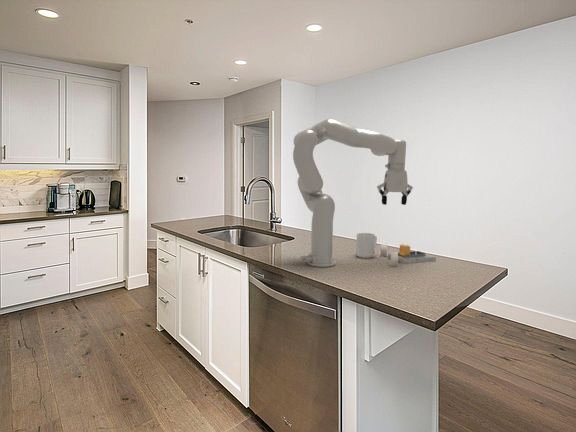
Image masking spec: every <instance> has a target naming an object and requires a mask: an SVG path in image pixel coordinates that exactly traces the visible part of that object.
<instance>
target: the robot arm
mask: <svg viewBox="0 0 576 432" xmlns="http://www.w3.org/2000/svg"><path fill="white" fill-rule="evenodd" d="M327 140H331V141H334V142H335V143H336V142H337V143H340V144H343V145H345V146H349V147H350V148H351V147H352V148H362V149H369V150H370V151H371V154H373V155H375V156H378V157H382V156H388V158H387V164H385V165H384V167H385V168H386V169H387V170H386V171H385V174H384V179H383V183H380V184H378V185H377V186H376V188H377V190H378V193H379V194H380V196H381V204H382V205H385V206H386V205H387V203H388V196H387V194H388V193H401V195H402V196H401V199H400V200H401V201H400V204H401V205H402V206H403V205H404V206H406V205H407V203H408V202H407V201H408V196H409V195H410V194H411V192H412V190H413V188H414V187H413V186H412V185H410V184H409V183H408V172H407V170H406V169H405V168H406V167H405V166H406V155H407V154H406V153H407V141H406V140H404V139H394V138H392V137H391V136H388V135H385V134H382V133H379V132H376V131H373V130H367V129H364V128H359V127H356V126H353V125H350V124H347V123H344V122H342V121H339V120H338V119H337V120H336V119H335V118H334V119H333V118H327V119H325V120H322V121H320V122H318V123H316V124H315V125H313V126H311V127H309V128H307V129H304V130H302V131H300V132H297V134H296V135H295V136H294V138H293V146H294V147H293V152H292V161H293V163H294V167H295V169H296V172H297V174H298V179H297V186H298V187H297V188H298V189H299V192H300V194H301V197H302V198H303V199H302V200H303V201H304V202H305V205H306V207H307V208H308V210H309V211H310V212H312V217H311V228H310V229H311V233H310V234H311V239H310V240H311V241H310V242H311V244H310V247H311V248H310V252H309V253H308V254H307V255H300V260H301V261H306V262H307V264H308V265H309V266H311V267H319V268H328V267H333V266H335V265H336V264H337V263H336V260H335V259H333V246H334V245H333V241H334V240H333V239H334V238H333V237H334V236H333V235H334V216H335V211H336V209H335V208H336V204H335V200H334V199H333V198H332V196H331V195H329V194H326V193H323V190H322V189H323V186H324V180H323V177H322V176H321V174H320V171H319V169H318V167H317V165H316V162H315V160H314V149H315V147H316V146H317V145H319V144H322V143H323V142H325V141H327ZM382 189H383V190H382Z"/></svg>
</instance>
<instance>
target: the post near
mask: <svg viewBox="0 0 576 432" xmlns="http://www.w3.org/2000/svg"><path fill="white" fill-rule="evenodd" d="M398 253H399V252H398V251H391V252H390V254H391V259H390V267H393V268H394V267H395V268H396V267H398V263H399V262H398Z"/></svg>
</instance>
